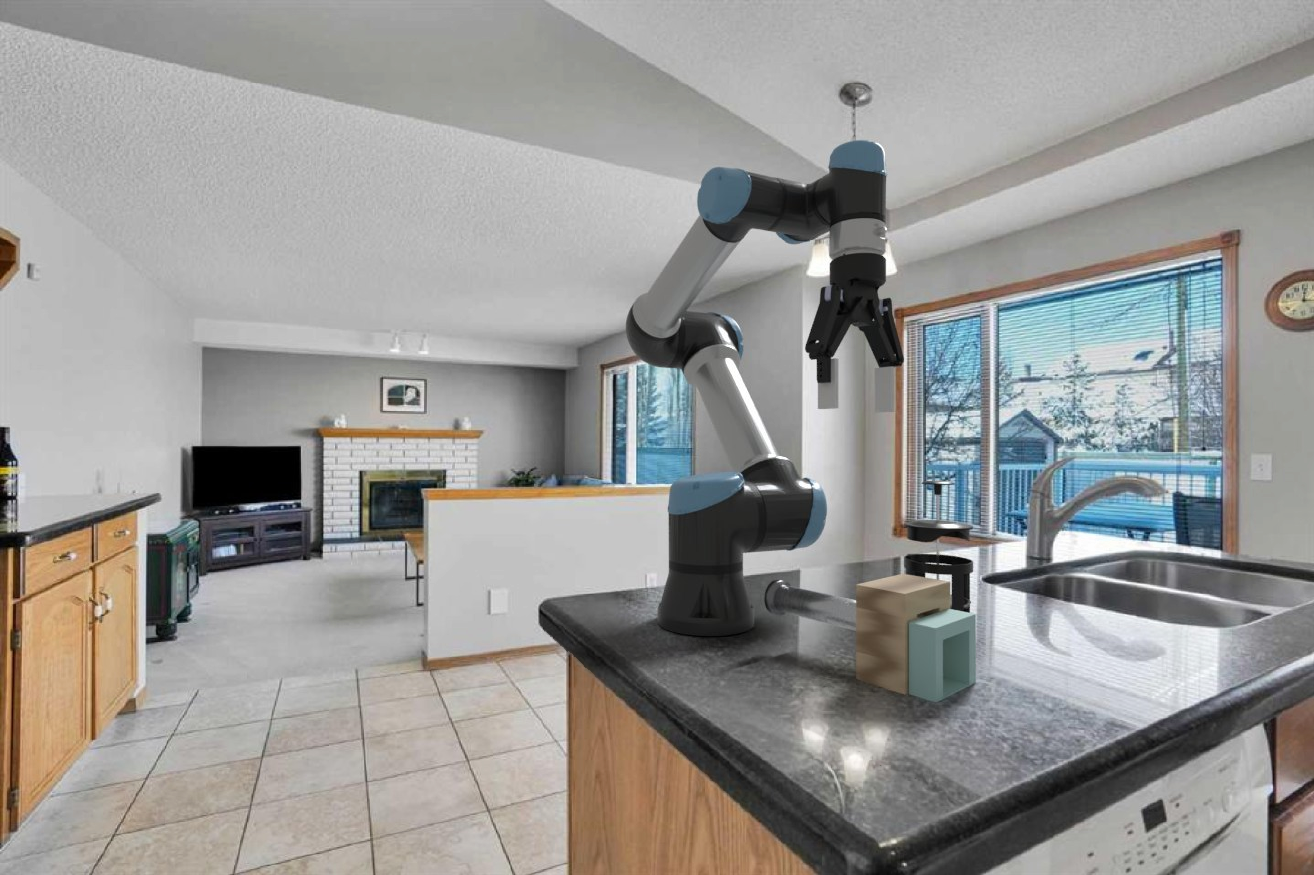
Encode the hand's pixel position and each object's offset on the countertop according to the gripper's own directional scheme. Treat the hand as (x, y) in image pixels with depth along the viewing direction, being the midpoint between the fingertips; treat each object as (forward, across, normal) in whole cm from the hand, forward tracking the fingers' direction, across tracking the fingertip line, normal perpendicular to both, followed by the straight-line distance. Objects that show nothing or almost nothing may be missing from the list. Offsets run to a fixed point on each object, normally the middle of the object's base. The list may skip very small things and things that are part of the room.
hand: (857, 410), depth 90 cm
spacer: (+33, -9, -17) cm, 38 cm away
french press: (+33, +10, -6) cm, 35 cm away
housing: (+33, -9, -12) cm, 36 cm away
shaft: (+28, -9, -4) cm, 30 cm away
